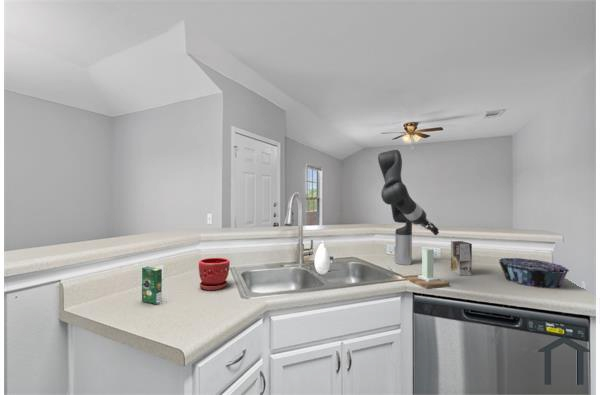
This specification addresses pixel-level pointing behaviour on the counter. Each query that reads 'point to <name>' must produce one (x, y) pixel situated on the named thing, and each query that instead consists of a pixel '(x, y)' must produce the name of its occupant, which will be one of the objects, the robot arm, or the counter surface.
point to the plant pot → (213, 273)
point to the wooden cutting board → (426, 282)
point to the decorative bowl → (533, 272)
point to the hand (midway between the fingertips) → (430, 229)
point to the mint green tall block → (427, 265)
